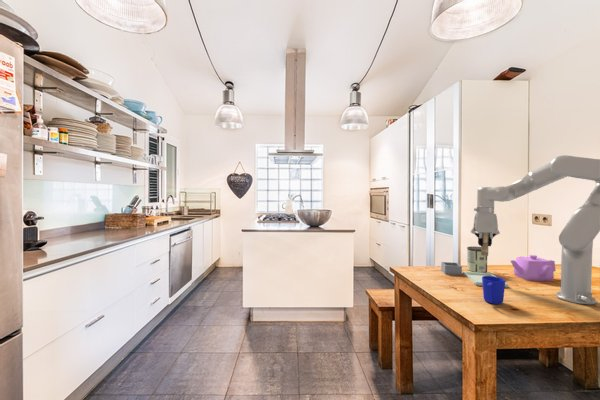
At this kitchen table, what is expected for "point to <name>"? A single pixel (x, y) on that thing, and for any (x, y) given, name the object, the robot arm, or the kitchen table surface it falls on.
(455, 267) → the grey square bin
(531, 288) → the kitchen table surface
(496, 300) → the mug
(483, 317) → the kitchen table surface
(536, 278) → the teakettle
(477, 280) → the tray
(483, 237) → the dowel
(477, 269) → the coffee can
